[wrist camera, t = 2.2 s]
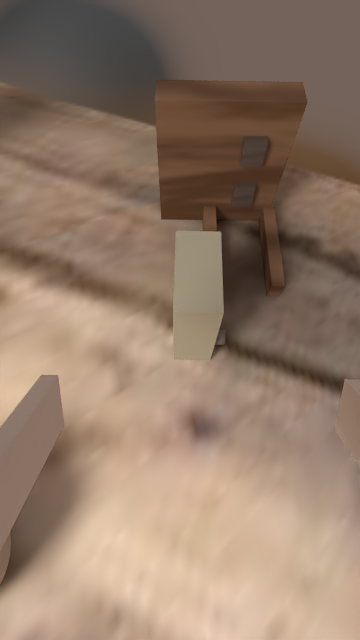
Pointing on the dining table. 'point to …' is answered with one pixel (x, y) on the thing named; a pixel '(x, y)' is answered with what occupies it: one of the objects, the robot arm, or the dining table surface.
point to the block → (197, 295)
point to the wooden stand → (227, 154)
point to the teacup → (5, 557)
